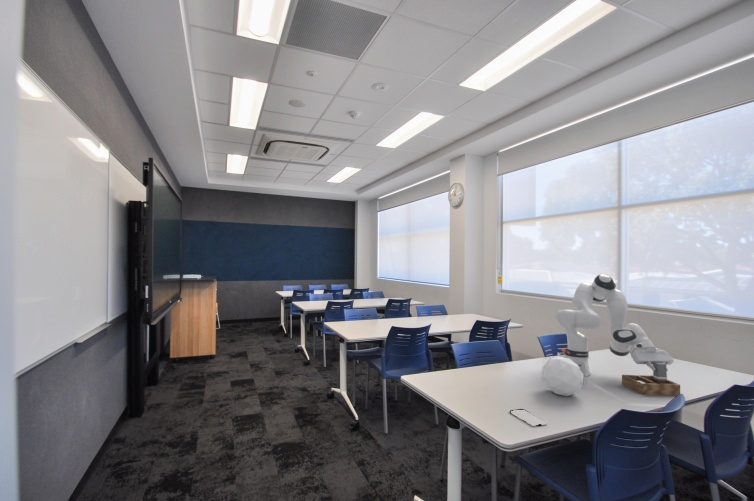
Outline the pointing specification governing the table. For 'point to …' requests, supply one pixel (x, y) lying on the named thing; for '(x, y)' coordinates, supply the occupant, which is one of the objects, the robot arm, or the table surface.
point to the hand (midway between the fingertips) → (660, 370)
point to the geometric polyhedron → (562, 376)
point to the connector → (660, 371)
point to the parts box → (650, 385)
